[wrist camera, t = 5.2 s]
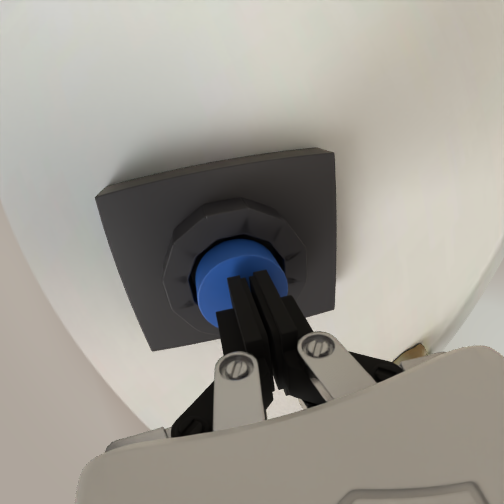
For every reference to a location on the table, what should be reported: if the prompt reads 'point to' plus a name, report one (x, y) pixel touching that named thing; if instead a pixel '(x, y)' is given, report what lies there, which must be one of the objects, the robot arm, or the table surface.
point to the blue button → (232, 273)
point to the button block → (221, 234)
